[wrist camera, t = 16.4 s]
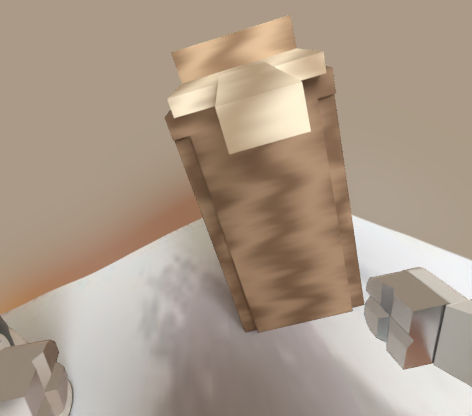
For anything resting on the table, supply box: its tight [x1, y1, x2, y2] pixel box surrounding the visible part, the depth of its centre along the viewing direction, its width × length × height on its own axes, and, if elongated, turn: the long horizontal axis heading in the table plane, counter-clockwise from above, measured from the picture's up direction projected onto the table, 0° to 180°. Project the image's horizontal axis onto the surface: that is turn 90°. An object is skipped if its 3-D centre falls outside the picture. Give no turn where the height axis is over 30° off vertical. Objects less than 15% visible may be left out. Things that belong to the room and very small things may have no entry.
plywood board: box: [167, 15, 326, 154], centre depth 26 cm, size 12×28×4 cm, turn 3°
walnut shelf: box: [165, 66, 364, 333], centre depth 42 cm, size 14×20×26 cm
